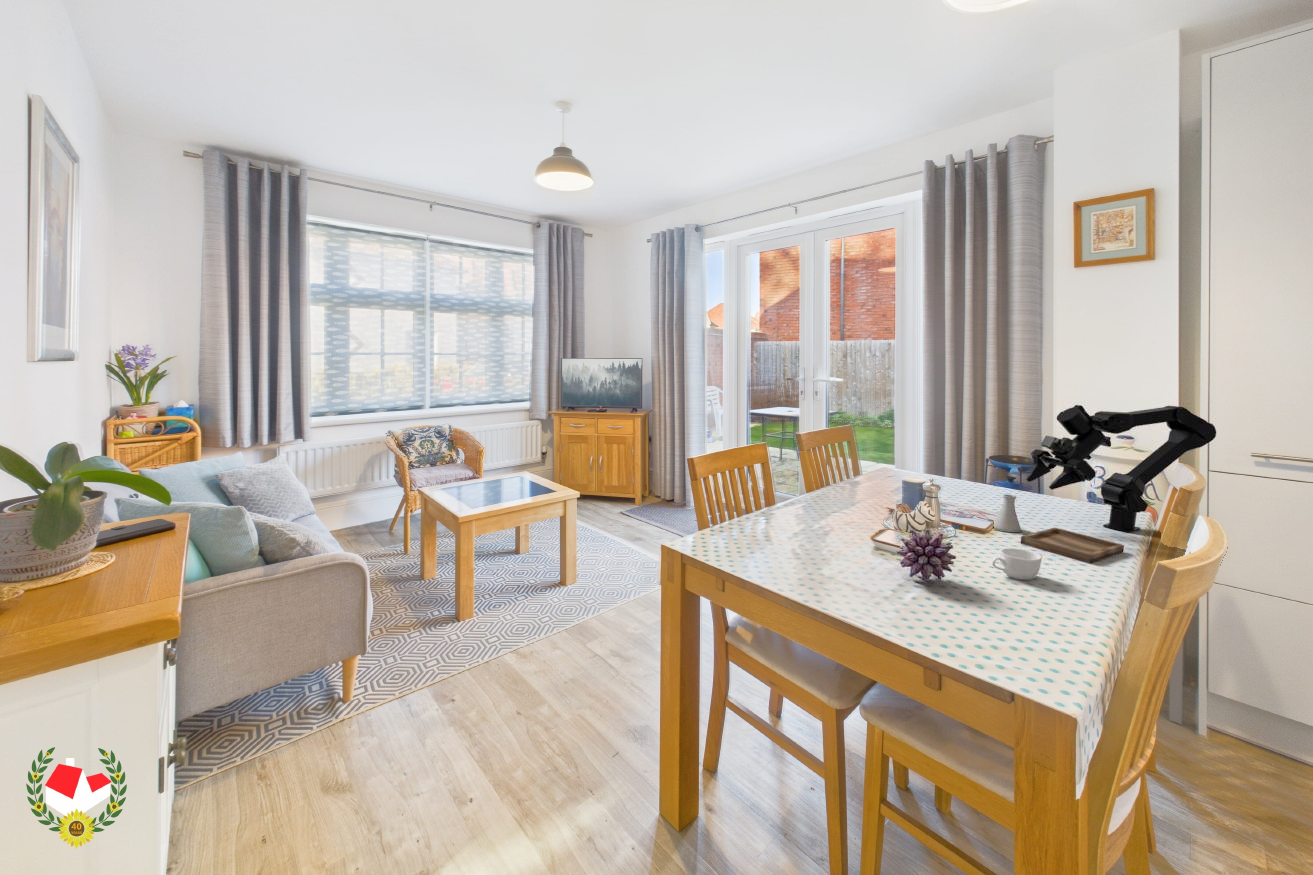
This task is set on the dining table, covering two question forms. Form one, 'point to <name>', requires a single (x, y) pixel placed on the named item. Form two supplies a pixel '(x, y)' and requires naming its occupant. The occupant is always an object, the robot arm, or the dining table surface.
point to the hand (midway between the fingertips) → (1038, 484)
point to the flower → (926, 554)
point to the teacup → (1019, 563)
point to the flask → (1007, 516)
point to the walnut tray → (1072, 545)
